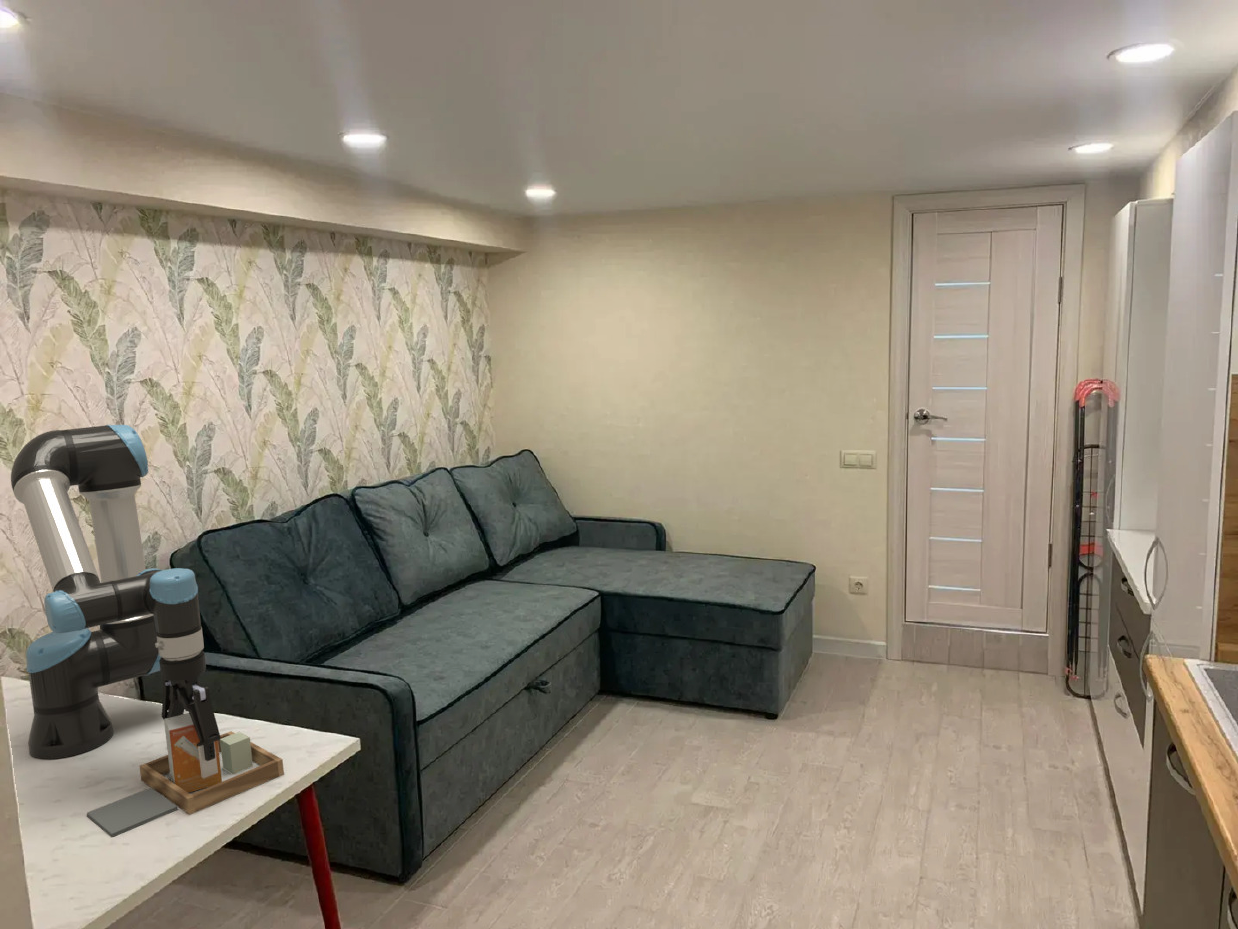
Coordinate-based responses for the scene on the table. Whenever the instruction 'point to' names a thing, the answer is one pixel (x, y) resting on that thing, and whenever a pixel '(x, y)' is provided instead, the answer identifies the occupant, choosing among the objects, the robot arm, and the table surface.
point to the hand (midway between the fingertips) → (194, 765)
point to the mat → (131, 811)
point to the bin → (217, 792)
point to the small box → (187, 755)
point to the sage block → (236, 752)
